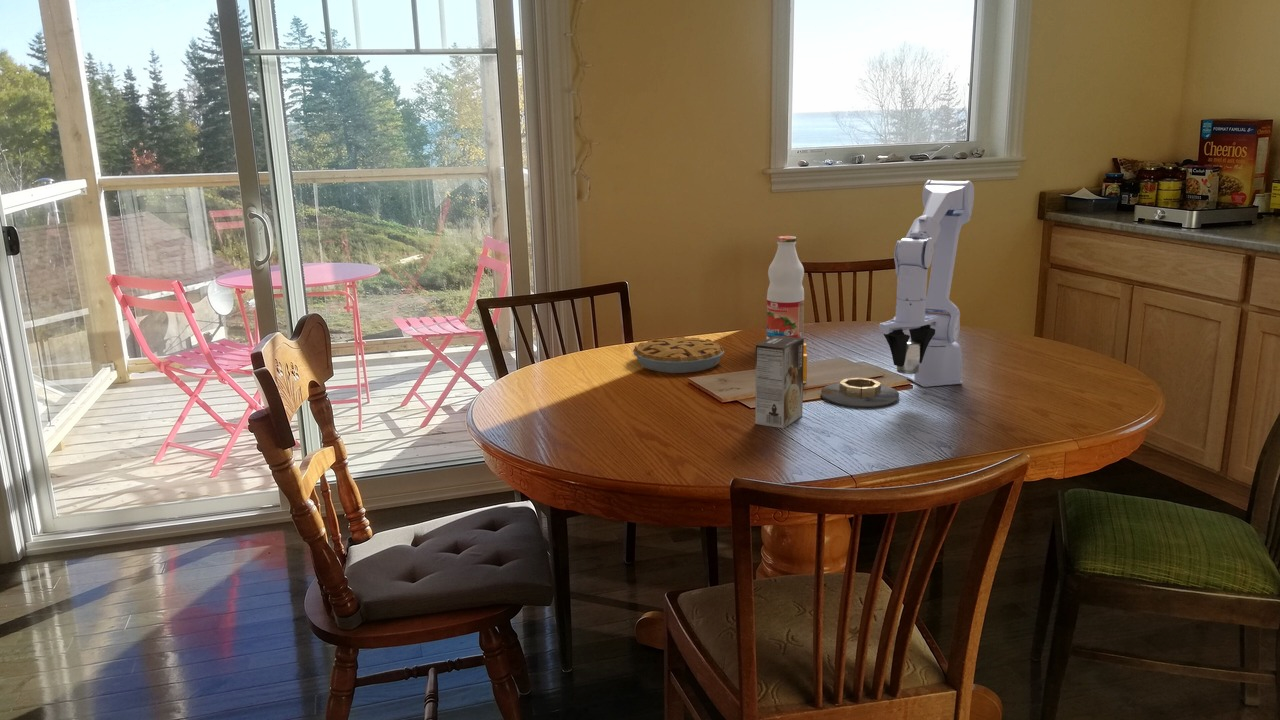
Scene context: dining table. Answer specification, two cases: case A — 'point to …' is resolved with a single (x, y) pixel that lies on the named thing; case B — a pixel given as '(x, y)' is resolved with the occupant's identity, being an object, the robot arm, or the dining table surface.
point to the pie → (678, 354)
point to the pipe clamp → (804, 364)
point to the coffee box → (779, 381)
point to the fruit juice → (785, 291)
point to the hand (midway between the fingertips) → (907, 363)
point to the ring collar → (860, 393)
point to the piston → (911, 358)
